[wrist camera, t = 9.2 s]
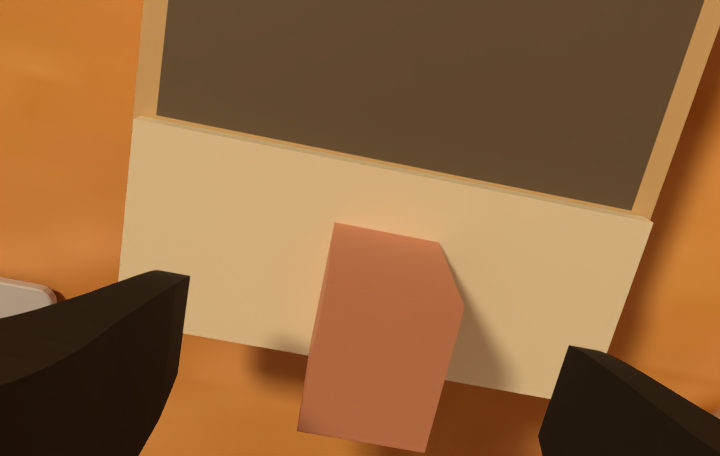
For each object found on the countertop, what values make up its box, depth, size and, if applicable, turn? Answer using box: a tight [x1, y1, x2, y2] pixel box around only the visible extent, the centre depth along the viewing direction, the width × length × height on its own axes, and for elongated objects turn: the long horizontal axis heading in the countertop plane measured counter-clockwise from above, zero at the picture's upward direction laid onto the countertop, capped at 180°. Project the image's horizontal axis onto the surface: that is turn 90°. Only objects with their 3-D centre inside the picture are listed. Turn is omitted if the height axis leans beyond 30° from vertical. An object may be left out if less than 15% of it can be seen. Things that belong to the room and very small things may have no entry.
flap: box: [118, 116, 653, 453], centre depth 13 cm, size 5×12×4 cm, turn 78°
